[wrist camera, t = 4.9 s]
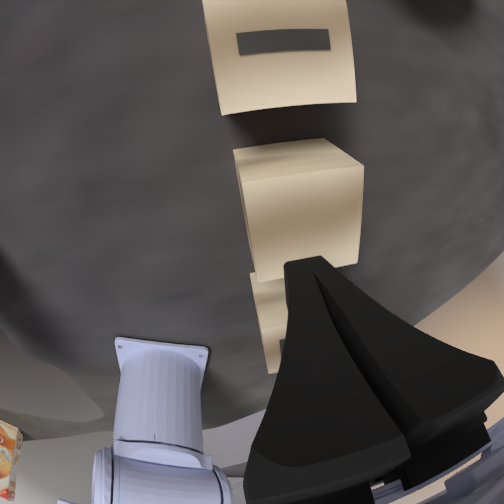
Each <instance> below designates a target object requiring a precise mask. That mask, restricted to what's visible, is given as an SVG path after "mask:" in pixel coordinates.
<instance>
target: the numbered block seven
mask: <svg viewBox="0 0 504 504" xmlns="http://www.w3.org/2000/svg"><path fill="white" fill-rule="evenodd" d="M250 278H251V284H252V289H253V295H254V300H255V306H256V312H257V317H258V323H259V328H260V333H261V338H262V343H263V348H264V353H265V358H266V363H267V368H268V373H269V374H271V373H277V372H278V370H279V366H280V362H281V358H282V353H283V348H284V342H285V336H286V329H287V319H288V309H287V305H286V295H285V281H284V278H280V279H275V280H270V281H265V282H259V283H258V282H257V277H256V272H254V273H250Z"/></svg>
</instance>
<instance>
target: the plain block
mask: <svg viewBox="0 0 504 504" xmlns="http://www.w3.org/2000/svg"><path fill="white" fill-rule="evenodd" d="M233 153H234V159H235V165H236V171H237V177H238V183H239V189H240V195H241V201H242V207H243V213H244V219H245V225H246V231H247V235H248V240H249V245H250V249H251V254H252V259H253V263H254V268H255V272H256V277H257V282H258V283H259V282H265V281H270V280H275V279H280V278H284V268H283V265H284V264H285V263H286V262H288V261H293V260H298V259H304V258H309V257H314V256H319V255H321V256H322V257H323V258H325V259H326V260H327V261H328V262H329V263H330V264H331V265H332V266H334V267H335V268H336V267H341V266H345V265H350V264H355V263H357V262H358V252H359V242H360V231H361V218H362V202H363V181H364V166H363V165H362V164H360V163H359V162H358V161H356V160H355V159H354V158H352V157H351V156H349V155H348V154H346V153H345V152H344V151H342V150H341V149H339V148H338V147H336V146H335V145H333V144H332V143H330V142H329V141H327V140H326V139H324V138H317V139H307V140H298V141H289V142H281V143H274V144H267V145H260V146H253V147H247V148H241V149H235V150H233Z"/></svg>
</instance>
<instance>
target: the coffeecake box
mask: <svg viewBox="0 0 504 504" xmlns="http://www.w3.org/2000/svg"><path fill="white" fill-rule="evenodd" d="M22 440H23V435H22V434H21V432H20V430H19V429H18V428H17V427H15V426H12V425H10V424H8V423H6V422H4V421H2V420H0V497H2V498H4V499H6V500H8V501H14V496H15V485H16V476H17V469H18V462H19V456H20V450H21V445H22Z"/></svg>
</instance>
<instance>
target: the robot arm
mask: <svg viewBox="0 0 504 504" xmlns="http://www.w3.org/2000/svg"><path fill="white" fill-rule="evenodd" d="M283 268H284V281H285V295H286V305H287V309H288V319H287V329H286V336H285V342H284V348H283V353H282V358H281V362H280V366H279V370H278V374H277V378H276V381H275V385H274V388H273V391H272V394H271V397H270V400H269V403H268V406H267V409H266V412H265V415H264V417H263V420H262V422H261V424H260V427H259V429H258V431H257V434H256V436H255V439H254V441H253V443H252V445H251V450H250V455H249V459H248V462H247V466H246V470H245V474H244V480H243V489H244V494H245V499H246V504H388V503H390V502H393V501H395V500H397V499H399V498H402V497H404V496H406V495H409V494H411V493H413V492H415V491H417V490H419V489H421V488H423V487H425V486H427V485H429V484H431V483H432V482H434V481H436V480H438V479H440V478H442V477H443V476H445V475H447V474H449V473H450V472H452V471H454V470H455V469H457V468H459V467H460V466H462V465H463V464H465V463H467V462H468V461H470V460H471V459H473V458H474V457H475V456H477V455H479V454H480V453H481V452H482V454H481V458H480V459H479V460H478V461H476V462H474V463H473V464H471V465H469V466H468V467H466V468H464V469H462V470H461V471H459V472H458V473H456V474H454V475H453V476H452V477H450V478H449V479H447V480H446V481H445V482H444V484H445V486H446V489H445V490H443V491H441V492H440V493H438V494H436V495H434V496H432V497H430V498H428V499H426V500H424V501H422V502H420V503H418V504H504V418H502V419H501V420H500V421H498V422H497V423H496V424H494V425H493V426H492V427H490V428H489V429H487V430H486V428H485V425H484V422H486V421H487V417H486V415H485V413H484V410H486V409H487V408H488V407H489V406H490V405H491V404H492V403H493V402H494V401H495V400H496V399H497V398H498V397H499V396H500V395H501V394H502V393H503V392H504V377H503V375H502V374H501V372H500V370H499V369H498V367H497V366H496V364H495V362H494V361H492V360H489V359H486V358H483V357H480V356H477V355H474V354H471V353H468V352H465V351H463V350H460V349H458V348H455V347H453V346H451V345H448V344H446V343H444V342H442V341H440V340H437V339H436V338H434V337H431V336H430V335H428V334H426V333H424V332H422V331H420V330H418V329H417V328H415V327H413V326H411V325H410V324H408V323H406V322H405V321H403V320H402V319H400V318H399V317H397V316H395V315H394V314H392V313H391V312H389V311H388V310H386V309H385V308H384V307H382V306H381V305H380V304H378V303H377V302H376V301H374V300H373V299H372V298H370V297H369V296H368V295H366V294H365V293H364V292H363V291H362V290H360V289H359V288H358V287H357V286H356V285H354V284H353V283H352V282H351V281H350V280H348V279H347V278H346V277H345V276H344V275H343V274H341V273H340V272H339V271H338V270H337V269H336V268H335V267H334V266H332V265H331V264H330V263H329V262H328V261H327V260H326V259H325V258H323V257H322V256H321V255H319V256H314V257H309V258H304V259H298V260H293V261H288V262H286V263H285V264H284V265H283ZM115 347H116V352H117V357H118V362H119V367H120V371H121V378H120V384H119V391H118V398H117V406H116V414H115V423H114V433H113V444H112V446H111V448H110V449H109V448H106V447H103V448H102V449H101V450H99V451H97V452H96V454H95V459H94V467H93V478H92V504H234V499H233V492H232V488H231V485H230V482H229V480H228V478H227V477H226V475H225V474H224V473H223V471H222V470H221V469H220V468H219V467H217V466H215V465H213V463H212V456H211V455H204V453H203V438H202V420H201V397H200V391H201V386H202V381H203V376H204V372H205V367H206V362H207V358H208V348H207V347H204V346H193V345H182V344H172V343H163V342H154V341H146V340H138V339H131V338H124V337H116V338H115ZM383 482H384V486H381V487H379V488H376V489H373V490H371V487H372V486H375V485H377V484H380V483H383ZM57 504H77V503H73V502H69V501H66V500H62V499H58V500H57Z"/></svg>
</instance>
